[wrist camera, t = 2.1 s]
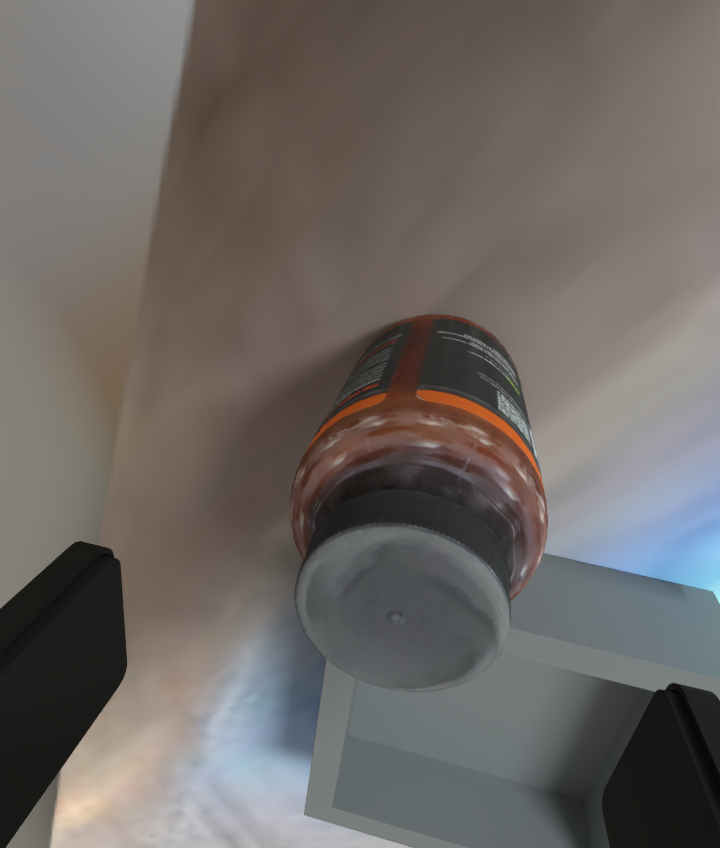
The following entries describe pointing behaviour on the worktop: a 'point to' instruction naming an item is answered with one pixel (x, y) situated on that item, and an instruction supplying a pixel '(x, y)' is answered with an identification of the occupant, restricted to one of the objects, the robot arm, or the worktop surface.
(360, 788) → the bin
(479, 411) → the supplement bottle
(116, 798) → the worktop surface
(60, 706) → the robot arm
